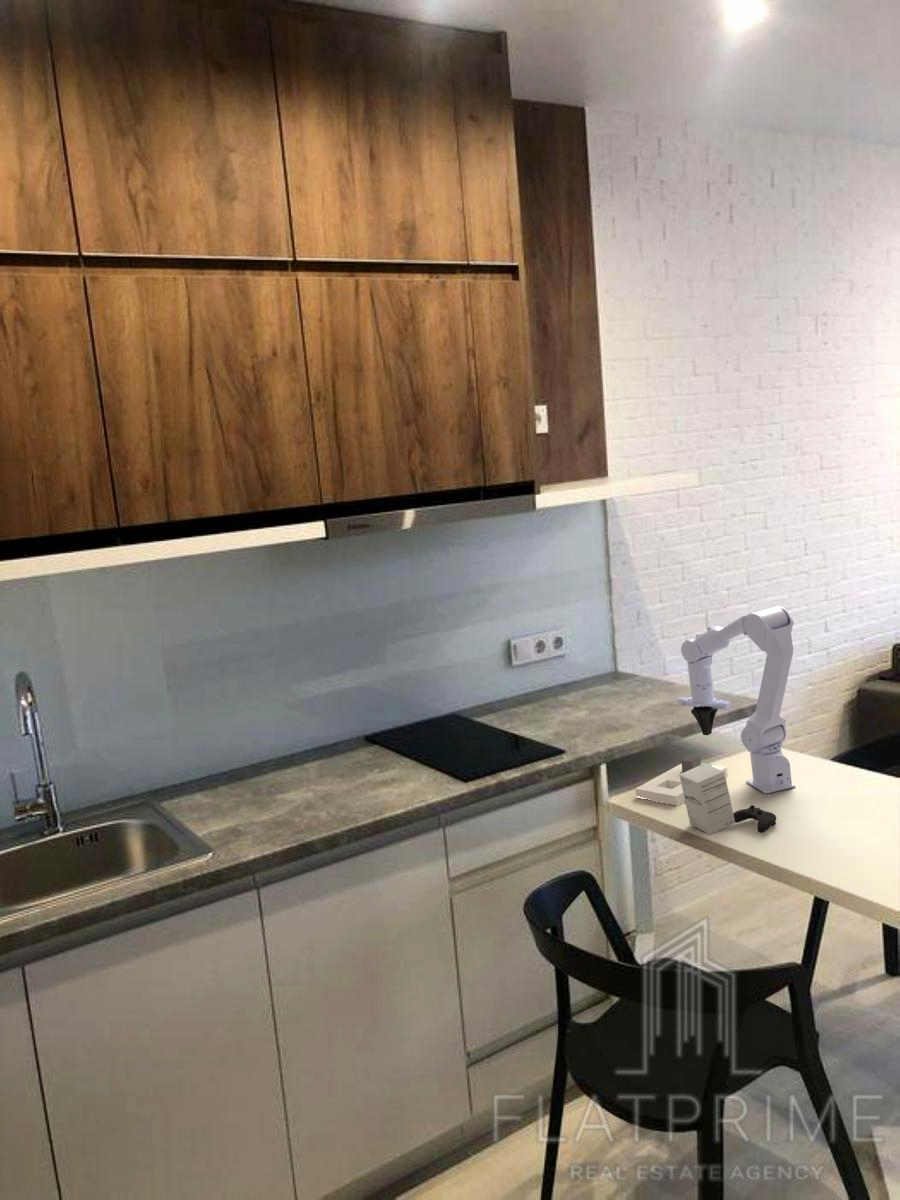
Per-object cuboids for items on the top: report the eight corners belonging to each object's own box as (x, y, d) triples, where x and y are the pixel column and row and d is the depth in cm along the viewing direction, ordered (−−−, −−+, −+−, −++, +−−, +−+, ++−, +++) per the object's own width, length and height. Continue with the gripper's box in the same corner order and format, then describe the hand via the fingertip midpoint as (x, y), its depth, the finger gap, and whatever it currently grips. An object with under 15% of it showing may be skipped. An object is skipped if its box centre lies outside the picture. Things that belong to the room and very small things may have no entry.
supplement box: (689, 825, 209) (677, 774, 207) (716, 813, 211) (704, 762, 209) (709, 835, 202) (697, 782, 200) (736, 823, 205) (725, 770, 202)
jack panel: (677, 806, 221) (676, 795, 221) (636, 798, 230) (635, 787, 230) (727, 776, 235) (726, 766, 235) (687, 770, 244) (686, 760, 244)
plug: (695, 784, 233) (692, 761, 233) (683, 782, 236) (680, 760, 235) (704, 779, 236) (701, 756, 235) (692, 777, 239) (689, 755, 238)
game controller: (727, 818, 206) (740, 795, 207) (740, 830, 208) (754, 808, 210) (759, 831, 197) (773, 807, 199) (773, 844, 200) (786, 820, 201)
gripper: (668, 685, 243) (675, 735, 244) (717, 689, 232) (723, 741, 233) (684, 678, 247) (690, 727, 249) (732, 682, 236) (738, 733, 238)
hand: (707, 734), depth 242 cm, fingers closed
